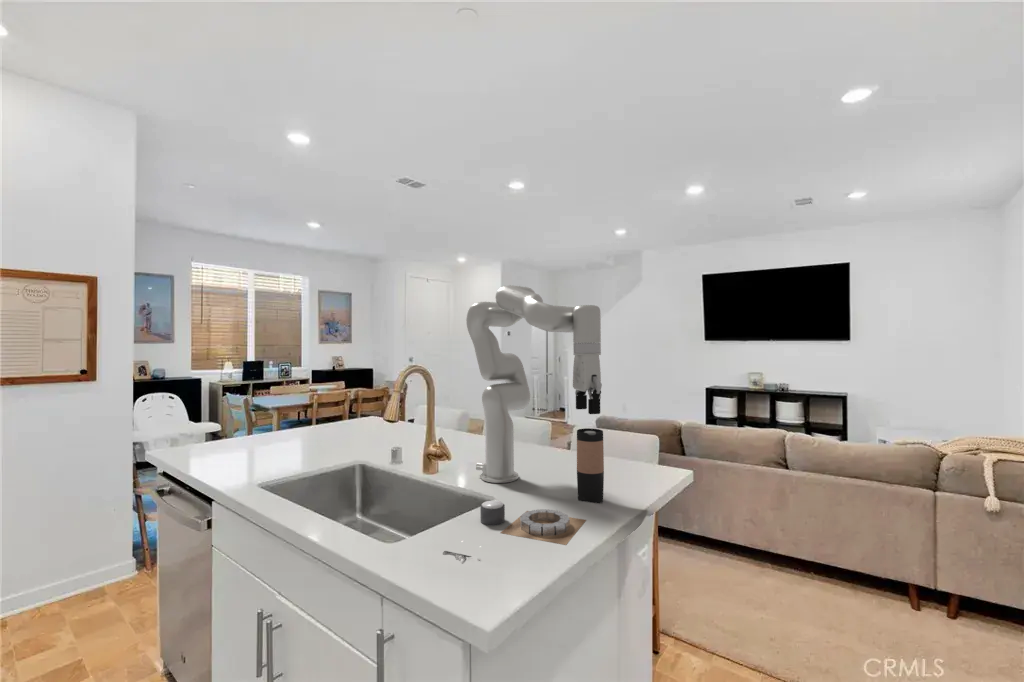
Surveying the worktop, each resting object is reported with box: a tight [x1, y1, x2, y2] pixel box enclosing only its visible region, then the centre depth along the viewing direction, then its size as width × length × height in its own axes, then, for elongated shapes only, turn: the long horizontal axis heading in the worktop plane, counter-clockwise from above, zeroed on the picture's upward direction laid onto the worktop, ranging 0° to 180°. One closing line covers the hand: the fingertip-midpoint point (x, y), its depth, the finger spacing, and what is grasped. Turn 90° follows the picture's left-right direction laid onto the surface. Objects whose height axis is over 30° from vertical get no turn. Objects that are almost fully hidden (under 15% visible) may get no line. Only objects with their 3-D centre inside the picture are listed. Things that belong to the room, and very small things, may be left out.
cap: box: [479, 500, 506, 527], centre depth 116 cm, size 6×6×5 cm
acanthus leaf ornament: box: [442, 540, 482, 564], centre depth 101 cm, size 8×7×2 cm
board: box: [499, 510, 587, 546], centre depth 112 cm, size 16×16×1 cm
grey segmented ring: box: [519, 509, 570, 536], centre depth 112 cm, size 12×12×2 cm
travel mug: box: [576, 427, 605, 505], centre depth 134 cm, size 8×8×20 cm
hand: (587, 411), depth 130 cm, fingers open, 9 cm apart
